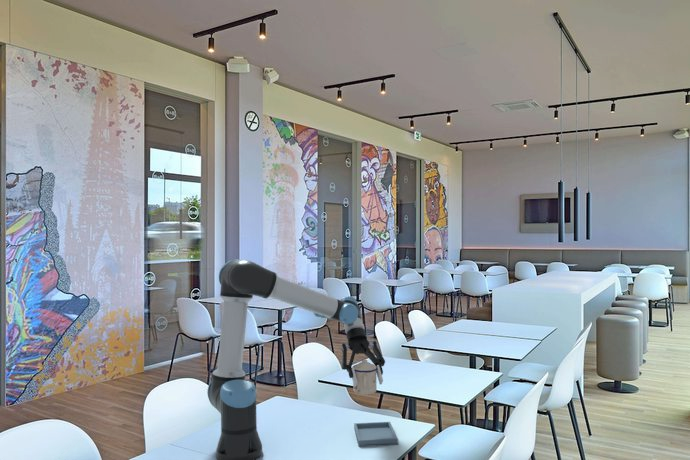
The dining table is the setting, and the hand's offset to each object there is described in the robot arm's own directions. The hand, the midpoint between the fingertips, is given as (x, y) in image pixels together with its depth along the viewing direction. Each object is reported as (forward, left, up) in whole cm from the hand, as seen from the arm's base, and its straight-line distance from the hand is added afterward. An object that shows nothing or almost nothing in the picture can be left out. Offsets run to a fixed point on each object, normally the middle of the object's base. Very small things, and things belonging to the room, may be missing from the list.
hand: (368, 383), depth 187 cm
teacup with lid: (-1, +3, -4) cm, 5 cm away
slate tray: (+2, -1, -19) cm, 19 cm away
